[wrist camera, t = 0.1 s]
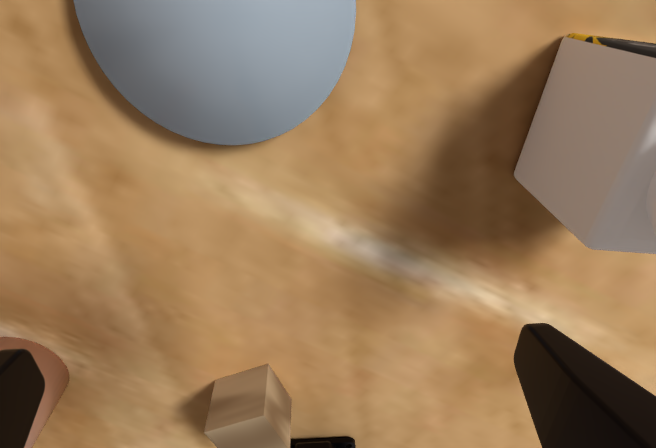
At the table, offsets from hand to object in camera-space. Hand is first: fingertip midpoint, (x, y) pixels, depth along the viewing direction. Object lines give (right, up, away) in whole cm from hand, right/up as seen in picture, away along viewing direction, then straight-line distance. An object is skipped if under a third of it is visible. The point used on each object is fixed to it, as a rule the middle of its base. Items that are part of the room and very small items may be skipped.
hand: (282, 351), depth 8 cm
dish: (-4, +11, +10) cm, 16 cm away
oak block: (-4, -9, +22) cm, 25 cm away
